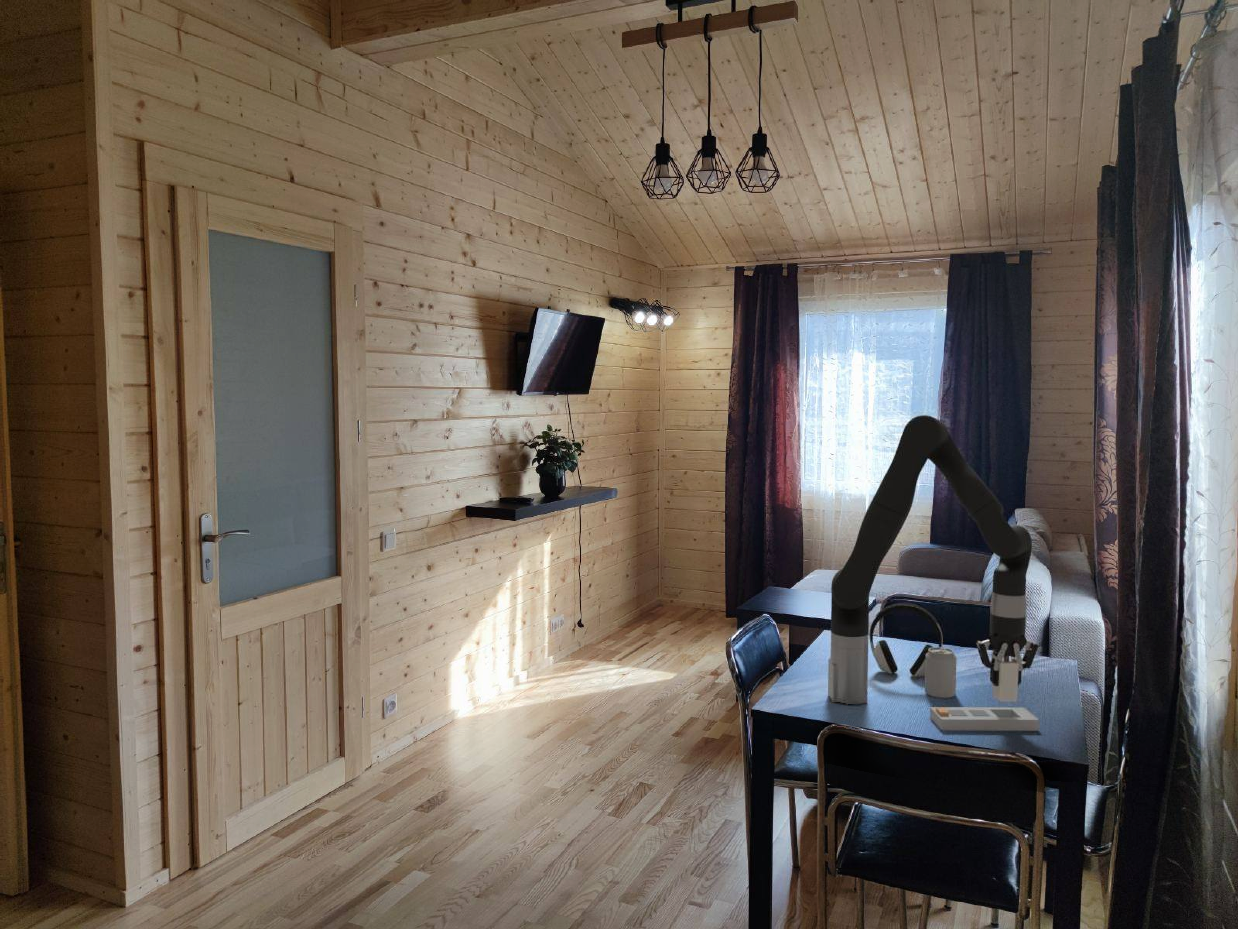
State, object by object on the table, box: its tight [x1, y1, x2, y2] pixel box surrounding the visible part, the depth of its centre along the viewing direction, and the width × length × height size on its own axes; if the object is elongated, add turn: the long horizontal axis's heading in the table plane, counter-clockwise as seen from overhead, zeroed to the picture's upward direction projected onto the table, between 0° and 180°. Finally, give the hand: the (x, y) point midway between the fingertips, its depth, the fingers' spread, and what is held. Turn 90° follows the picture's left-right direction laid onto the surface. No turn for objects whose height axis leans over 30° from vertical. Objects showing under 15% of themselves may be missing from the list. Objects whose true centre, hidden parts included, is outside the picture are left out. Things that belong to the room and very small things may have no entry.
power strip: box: [929, 706, 1040, 732], centre depth 209 cm, size 22×8×4 cm, turn 89°
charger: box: [992, 656, 1019, 703], centre depth 208 cm, size 4×4×11 cm
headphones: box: [868, 602, 944, 678], centre depth 246 cm, size 19×8×20 cm, turn 68°
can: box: [924, 646, 957, 699], centre depth 229 cm, size 8×8×12 cm
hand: (1005, 685), depth 208 cm, fingers closed on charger, 4 cm apart
